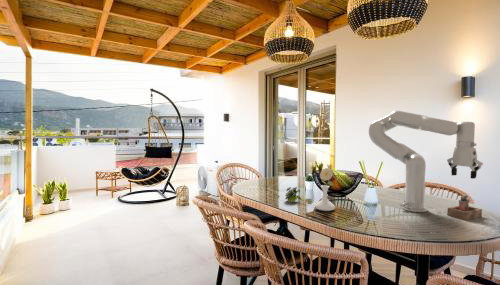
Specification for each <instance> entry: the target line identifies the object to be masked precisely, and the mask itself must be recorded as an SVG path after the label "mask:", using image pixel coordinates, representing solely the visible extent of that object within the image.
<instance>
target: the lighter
mask: <svg viewBox="0 0 500 285" xmlns="http://www.w3.org/2000/svg"><path fill="white" fill-rule="evenodd" d="M468 197H469V196H468V195H467V194H465V195H464V194H463V195H461V196H460V199H459V200H458V206H459V210H461V211H468V206H469V203H470V199H468Z"/></svg>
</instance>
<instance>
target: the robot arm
mask: <svg viewBox="0 0 500 285" xmlns="http://www.w3.org/2000/svg"><path fill="white" fill-rule="evenodd" d="M398 126H400V127H404V128H408V129H412V130H417V131H424V132H430V133H431V132H432V133H435V134H440V135H444V136H454V135H456V140H455V141H456V143H455V147H454V150H453V154H452V157H451V158H448V159H446V161H447V163H448V165H449V167H450V169H451V173H450V174H451V176H457V174H458V173H457V171H458V168H457V167H459V166H461V167H466V168H469V169H471V171H470V179H473V180H474V179H476V178H477V173H478V171H479V170H480V169H481V168H482V166H483V165H484V164H483V162H481V161H479V160H478V154H477V153H478V152H477V148H476V146H477V143H476V142H475V129H476V124H475V122H474V121H459V122H457V121H456V122H455V121H452V120H451V121H450V120H447V119H440V118H436V117H430V116H427V115H424V114H423V115H422V114H417V113H413V112H407V111H402V110H393V111H392V112H390V114H388V115H386V116H384V117H383V118H380V119H378V120H377V119H376V120H374V121H372V122H371V123H370V124H369V127H368V136H369V138H370V140H371V142H372V143H373V144H374V145H375V146H377V147H378V148H379V149H381V150H382V151H384V152H385V153H386V154H388V155H389V156H391V157H392V158H393V159H394V160H398V161H399V162H401V163H403V165H405V194H404V195H405V197H404V198H405V200H404V202H403V203H399V207H400V208H402V209H403V210H405V211H409V212H413V213H414V212H415V213H425V212H428V208H427V207H426V206H425V196H426V195H425V189H426V186H425V185H426V184H425V183H426V167H427V165H426V160H425V159H424V157H423V155H421V154H419V153H418V152H416V151H415V150H413V149H412V148H410V147H409V146H407V145H406V144H404V143H401V142H398V141H397V140H395V139H393V138H392V137H390V136H389V135H387V133H385V132H387V131H390V130H391V129H394V128H396V127H398Z"/></svg>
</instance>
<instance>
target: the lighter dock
mask: <svg viewBox="0 0 500 285" xmlns="http://www.w3.org/2000/svg"><path fill="white" fill-rule="evenodd" d="M446 212H447V214H446V215H447V216H450V217H453V218H457V219H460V220H464V221H468V220H473V219H477V218H482V216H483V215H482V214H483V209H482V208H478V207H474V206H468V211H461V210H459V205H457V206H451V207H447V210H446Z"/></svg>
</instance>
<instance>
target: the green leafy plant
mask: <svg viewBox="0 0 500 285" xmlns="http://www.w3.org/2000/svg"><path fill="white" fill-rule="evenodd" d="M285 191H286V193H285V199H284V200H287V201H288V204H290V203H294V202H296V201H297V200H299V201H300V200H302V197H301V195H300V192H301V189H300V188H297V186H295V187H287V189H286V190H285ZM297 193H298V195H297Z"/></svg>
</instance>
